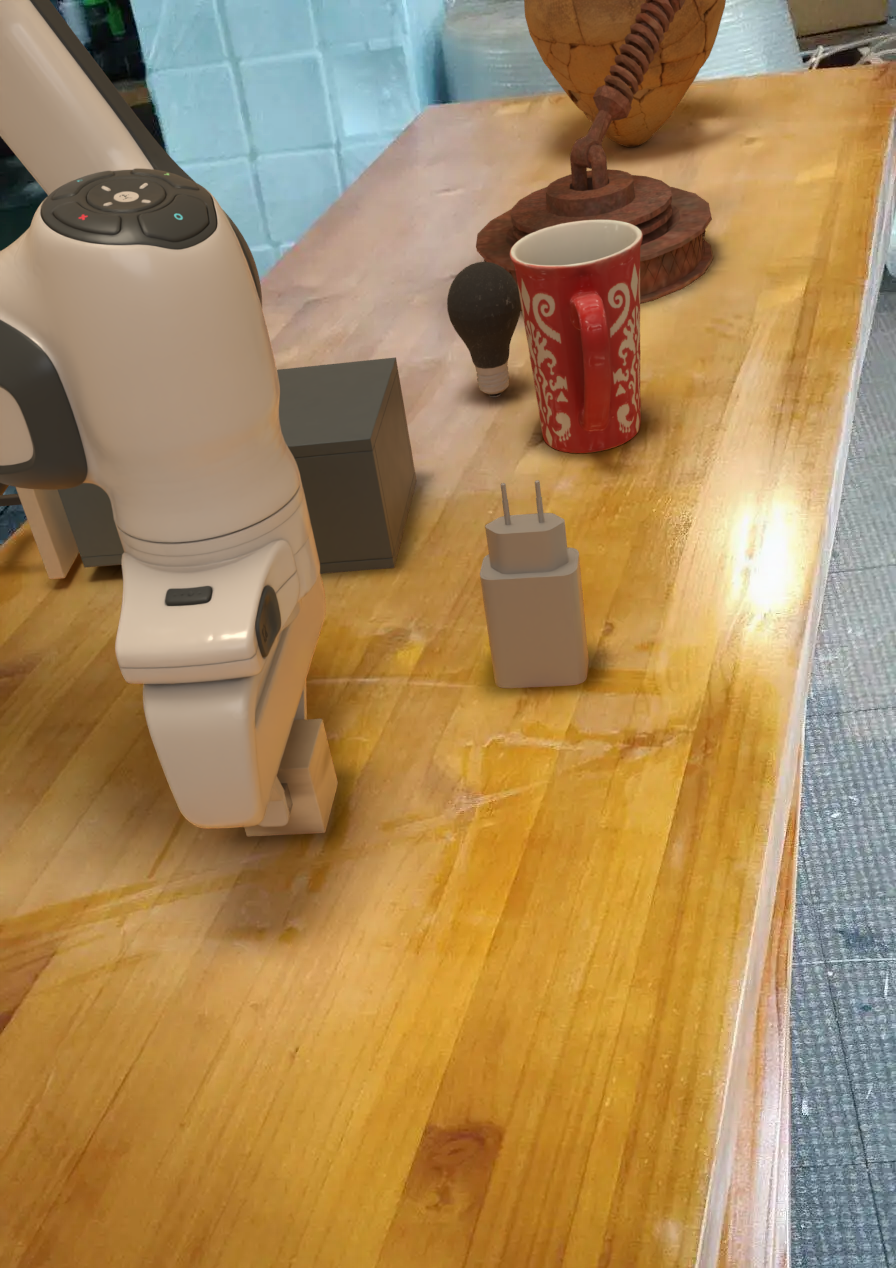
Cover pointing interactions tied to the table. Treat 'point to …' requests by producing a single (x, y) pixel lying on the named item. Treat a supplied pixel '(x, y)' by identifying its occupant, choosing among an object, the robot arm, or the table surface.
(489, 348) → the light bulb
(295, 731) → the block
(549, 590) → the power adapter
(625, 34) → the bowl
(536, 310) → the mug
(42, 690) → the table surface
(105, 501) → the drawer
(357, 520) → the cabinet
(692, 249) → the desk lamp
